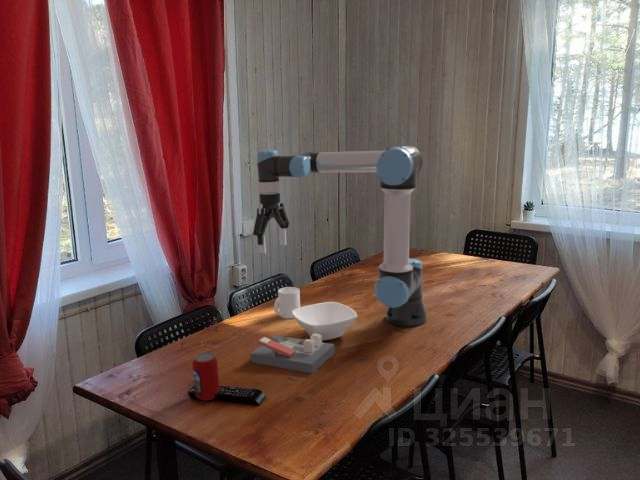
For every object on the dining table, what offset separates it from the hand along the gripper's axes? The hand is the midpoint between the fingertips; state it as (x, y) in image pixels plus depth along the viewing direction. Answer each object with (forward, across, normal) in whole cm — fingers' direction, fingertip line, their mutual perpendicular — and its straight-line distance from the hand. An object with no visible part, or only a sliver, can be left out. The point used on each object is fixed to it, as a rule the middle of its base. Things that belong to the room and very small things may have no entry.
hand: (273, 248), depth 213 cm
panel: (+27, +28, +26) cm, 47 cm away
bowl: (+28, +8, +26) cm, 39 cm away
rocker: (+22, +34, +23) cm, 46 cm away
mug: (+27, -2, +3) cm, 28 cm away
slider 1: (+24, +28, +32) cm, 49 cm away
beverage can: (+28, +60, +17) cm, 69 cm away
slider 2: (+24, +23, +31) cm, 46 cm away
